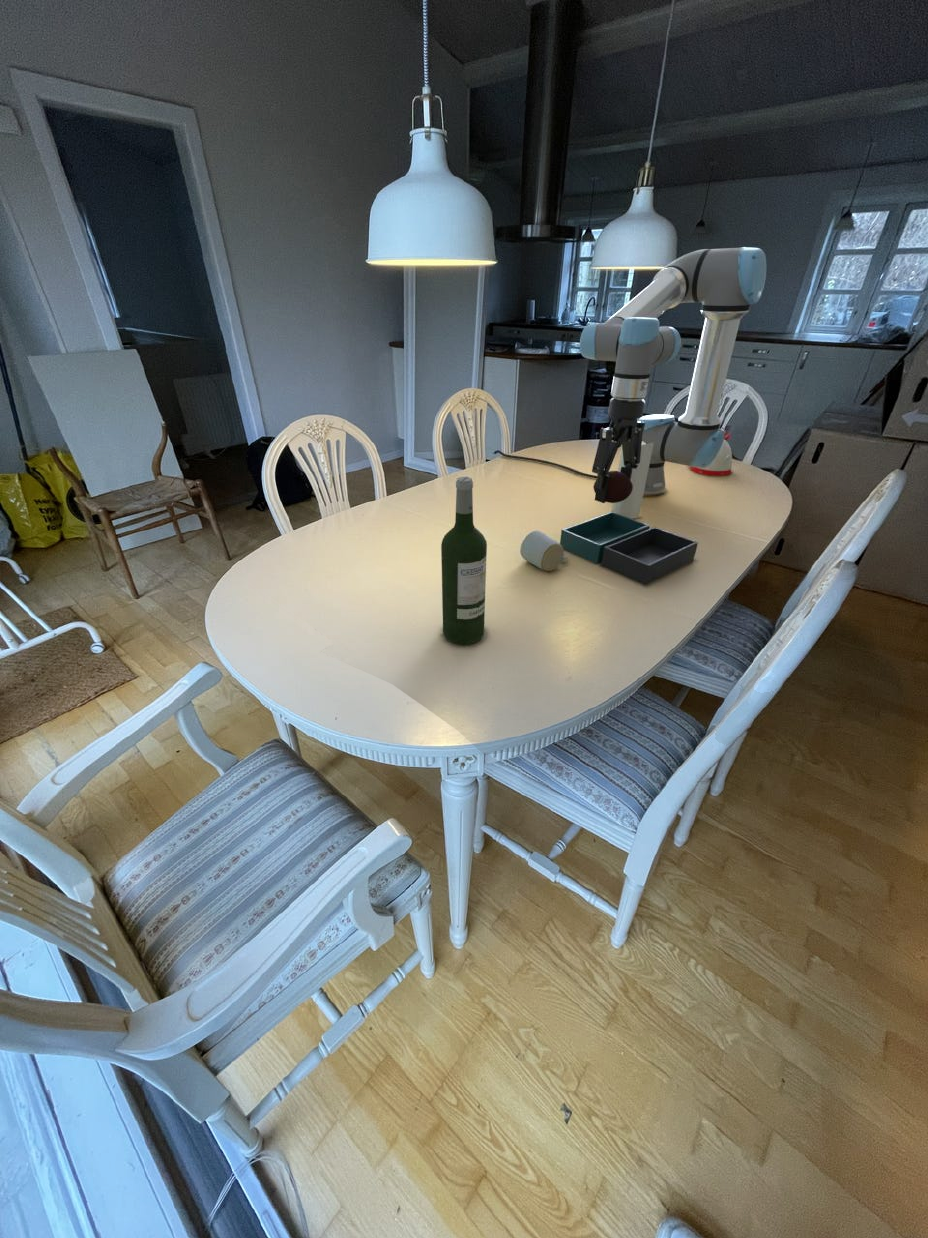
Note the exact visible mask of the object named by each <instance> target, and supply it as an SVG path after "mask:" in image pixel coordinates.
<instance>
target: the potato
mask: <svg viewBox="0 0 928 1238" xmlns="http://www.w3.org/2000/svg"><path fill="white" fill-rule="evenodd" d="M608 475H609V476H610V478H609V484H608V490H607V496H606V502H605V503H610V504H612V503H617V502H621V501H623V500H625V499H627V498H628V497H629V495H630V494H631V492H632V489H633V485H632V482H631V480H630V479H629V478H628V477H627V476H626V475H625V474H623V473H622V472H619V471H618V470H609V472H608ZM596 484H597V479H596V480H595V481H594V483H593V492H594V494H596Z"/></svg>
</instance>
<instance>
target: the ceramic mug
mask: <svg viewBox="0 0 928 1238" xmlns="http://www.w3.org/2000/svg"><path fill="white" fill-rule="evenodd" d="M519 550H520V556H521V557H522V559H523V560H525V561H526V562H528V563H530V564H532V565H533V566H535V567H537V568H539V569H540V570H542V571H545V572H551V571H554V570H555V569H557V568H558V567H559V566H560V564H561V563H563V564H564V563H565V562H566V561H567V559H568V556H567V555H565V550H564V549H563V547H562V546H561V545H560V542H558V541H557V540H555V539H553V538H552V537H550V536H549V535H547V534H545V532H542V531H541V530H533V531H531V532H530V533H528V534H527V535H525V537H524V538H523V540H522V543H521V545H520V549H519Z"/></svg>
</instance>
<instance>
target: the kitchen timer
mask: <svg viewBox="0 0 928 1238" xmlns="http://www.w3.org/2000/svg"><path fill="white" fill-rule="evenodd" d="M721 428H722V429H723V430H725V428H724V427H721ZM727 433H728V430H725V437H724V441H723V443H722V446H721V448H720V450H719V452H718V454H717V456H716V457H715V459H714V460H713V462H712V463H711V464H710V465H709V466H707V467H705V468H698V467H690V466H689V469H690V471H692V472H695V473H696V474H701V475H707V476H713V477H715V476H716V477H717V476H719V477H720V476H721V477H722V476H727V475H730V474H731V470H732V468H733V454H732V449H731V447H730V444H729V442H728V440H729V437H730V436H731V433H728V434H727Z"/></svg>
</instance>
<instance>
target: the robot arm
mask: <svg viewBox="0 0 928 1238" xmlns="http://www.w3.org/2000/svg"><path fill="white" fill-rule="evenodd" d="M766 277H767V258H766V253H765V252H764V250H763V249H762V248H759V247H746V246H743V247H729V248H709V249H708V248H704V249H702V248H701V249H697V250H694V251H691V252H688V253H686V254H684V255H682V256H680V257H678V258H676V259H675V260H673V261H671V262H670V263H668V264H666V266H664V267H662V268H661V269H660V270H659V271H658V272H657V273H656V274H655V275H654V276H653V279H652V281H651V283H650V284H649V285H648V286H646V287H645V288H644V289H643V290H641V291H640V292H639V293H638V294H637V295H636V296H635V297H633V298H631V299H630V300H629V301H628V302H627V303H626V304H625V305H624V306H622V308H620V309H618V311H617V312H616V313H614V314H613V315H612V316H610V317H609V318H608V319H607V320H606V321H605V322H604V323H599V322H596V323H589V324H587V325H586V326H585V327H584V328H583V330H582V332H581V334H580V339H579V351H580V354H581V356H582V357H583V358H585V359H587V360H588V359H589V360H594V361H605V362H606V361H608V362H615V369H614V374H613V379H612V384H611V392H610V396H611V397H612V398H611V399H609V405H608V413H607V414H608V416H609V417H610V418H611V421H610V423H609V424H608V425H609V426H608V427H606V428H604V427H601V428H600V430H599V440H598V444H597V448H596V453H595V456H594V460H593V464H592V468H591V473H593V474H589V473H587V472H586V473H585V472H582V471H579V470H577V469H574V468H571V467H568V466H566V465H563V464H561V463H560V464H559V463H556V462H552V461H549V460H543V459H538V458H533V457H527V456H520V455H511V454H506V453H504V452H503V451H501V450H499V449H497V450H495V451H493V455H497V454H500V455H501V456H503V457H506V458H510V459H518V460H524V461H531V462H537V463H543V464H546V465H551V466H554V467H558V468H561V469H564V470H567V471H569V472H573V473H575V474H577V475H580V476H582V477H587V478H592V479H596V480H597V484H596V493H594V501H596V502H599V503H602V504H605V503H607V502H606V496H607V490H608V484H609V478H610V476H609V475H608V472H609V471H611V467H612V464H613V462H614V460H615V458H616V455H617V452H618V449H620V448H622V451H623V461H624V466H625V467H621V471H620V472H622V473H623V474H625V475H626V476H627V477H628V478H629V479H631V475H632V470H633V468H634V469H636V468H637V467H638V465H636V464H639V463H640V456H641V446H642V441H643V442H645V443H646V444H650V443H654V444H653V449H652V454H651V459H650V464H649V469H648V474H647V479H646V484H645V489H644V494H643V497H654V496H660V495H663V494H664V493H665V491H666V477H665V464H666V463H673V464H677V465H682V466H687V467H689V468H690V467H698V468H705V467H707V466H709V465H710V464H711V463H712V462H713V460H714V459H715V457H716V456H717V454H718V452H719V450H720V448H721V446H722V443H723V441H724V437H726V436H725V431H726V430H725V429H724V430H723V429H722V428H723V427H721V423H722V420H721V418H720V417H719V416H718V412H719V408H720V404H721V400H722V396H723V391H724V388H725V385H726V384H725V383H726V379H727V376H728V371H729V368H730V364H731V363H730V362H731V360H732V355H733V351H734V347H735V343H736V339H737V335H738V331H739V328H740V324H741V319H743V317H744V316H746V315H747V314H748V313H749V312H750V309H751V305H754V304H756V303H758V301H759V300H760V299H761V297H762V293H763V291H764V288H765V283H766ZM683 303H685V304H686V303H696V304H697V303H699V304H701V309H700V313H701V314H702V316H703V318H705V319H704V324H703V328H702V332H701V337H700V343H699V347H698V352H697V357H696V361H695V365H694V369H693V370H694V371H693V375H692V379H691V385H690V389H689V394H688V398H687V403H686V409H685V412H684V413H683V414H682V415H680V416H679V417H678V420H677V421H676V419H675V418H676V417H675V416H674V415H671V414H649V415H644V411H645V405H646V401H645V398H646V397H647V392H648V388H649V381H650V378H651V372H652V367H653V366H657V365H658V366H661V365H664V364H666V363H668V362H670V361H672V360H673V359H674V358H675V357H676V356H677V354H678V353H679V351H680V349H681V346H682V339H681V335H680V333H679V331H678V330H677V329H676V328H674V327H672V326H668V325H660V320H659V319H658V318H659V317H660V316H662V315H663V313H665V312H666V311H667V310H669V309H673V308H675V307H677V306H679V304H683ZM635 457H636V458H635ZM595 474H596V475H595Z"/></svg>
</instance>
